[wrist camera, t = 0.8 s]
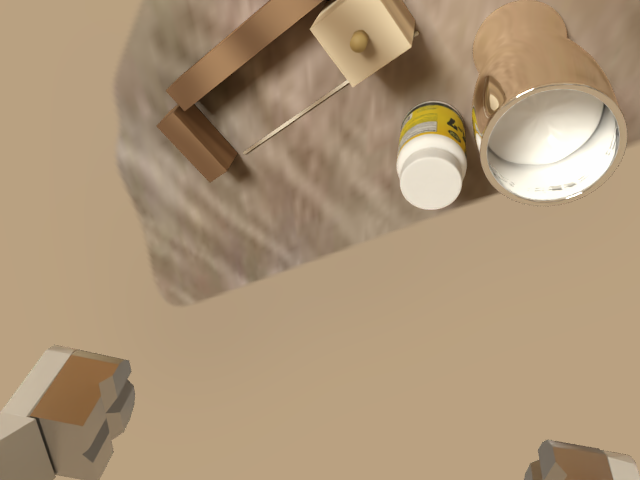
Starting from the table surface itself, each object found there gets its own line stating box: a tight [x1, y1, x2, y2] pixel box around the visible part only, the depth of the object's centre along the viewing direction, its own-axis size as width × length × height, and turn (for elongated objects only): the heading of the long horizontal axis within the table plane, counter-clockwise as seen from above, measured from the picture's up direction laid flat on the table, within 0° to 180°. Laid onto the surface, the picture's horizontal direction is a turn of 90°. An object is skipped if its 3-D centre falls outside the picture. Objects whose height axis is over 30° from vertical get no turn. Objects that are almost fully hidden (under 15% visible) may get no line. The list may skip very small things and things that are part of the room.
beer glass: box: [472, 0, 627, 206], centre depth 33 cm, size 7×7×15 cm
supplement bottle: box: [397, 101, 467, 210], centre depth 40 cm, size 5×5×8 cm
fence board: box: [157, 0, 419, 182], centre depth 41 cm, size 20×8×3 cm, turn 129°
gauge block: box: [310, 0, 415, 87], centre depth 37 cm, size 4×4×7 cm
